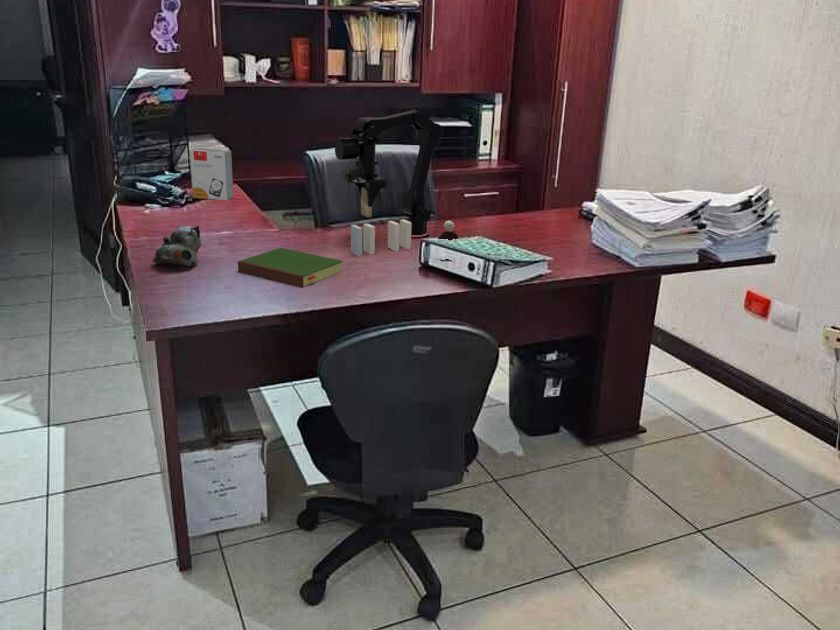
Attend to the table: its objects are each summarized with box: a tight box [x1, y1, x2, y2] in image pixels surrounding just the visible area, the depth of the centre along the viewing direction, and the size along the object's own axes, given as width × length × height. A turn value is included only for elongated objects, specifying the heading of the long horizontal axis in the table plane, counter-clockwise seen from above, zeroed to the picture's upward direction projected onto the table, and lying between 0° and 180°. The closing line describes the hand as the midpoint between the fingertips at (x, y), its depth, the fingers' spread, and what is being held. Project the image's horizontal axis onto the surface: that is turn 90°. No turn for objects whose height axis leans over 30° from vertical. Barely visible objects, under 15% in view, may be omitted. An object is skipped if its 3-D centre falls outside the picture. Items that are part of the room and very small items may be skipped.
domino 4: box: [387, 220, 400, 252], centre depth 243 cm, size 2×5×9 cm, turn 31°
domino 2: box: [360, 188, 373, 218], centre depth 246 cm, size 2×5×9 cm, turn 29°
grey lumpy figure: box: [151, 225, 202, 268], centre depth 220 cm, size 15×12×14 cm
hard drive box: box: [189, 147, 234, 201], centre depth 307 cm, size 16×8×20 cm, turn 81°
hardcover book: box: [237, 247, 344, 288], centre depth 218 cm, size 25×19×4 cm
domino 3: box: [362, 223, 376, 255], centre depth 238 cm, size 2×5×9 cm, turn 30°
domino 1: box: [350, 224, 363, 257], centre depth 236 cm, size 2×5×9 cm, turn 30°
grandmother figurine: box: [437, 220, 460, 241], centre depth 232 cm, size 8×4×13 cm, turn 118°
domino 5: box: [399, 219, 412, 250], centre depth 245 cm, size 2×5×9 cm, turn 30°
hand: (366, 205), depth 246 cm, fingers closed on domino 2, 5 cm apart
